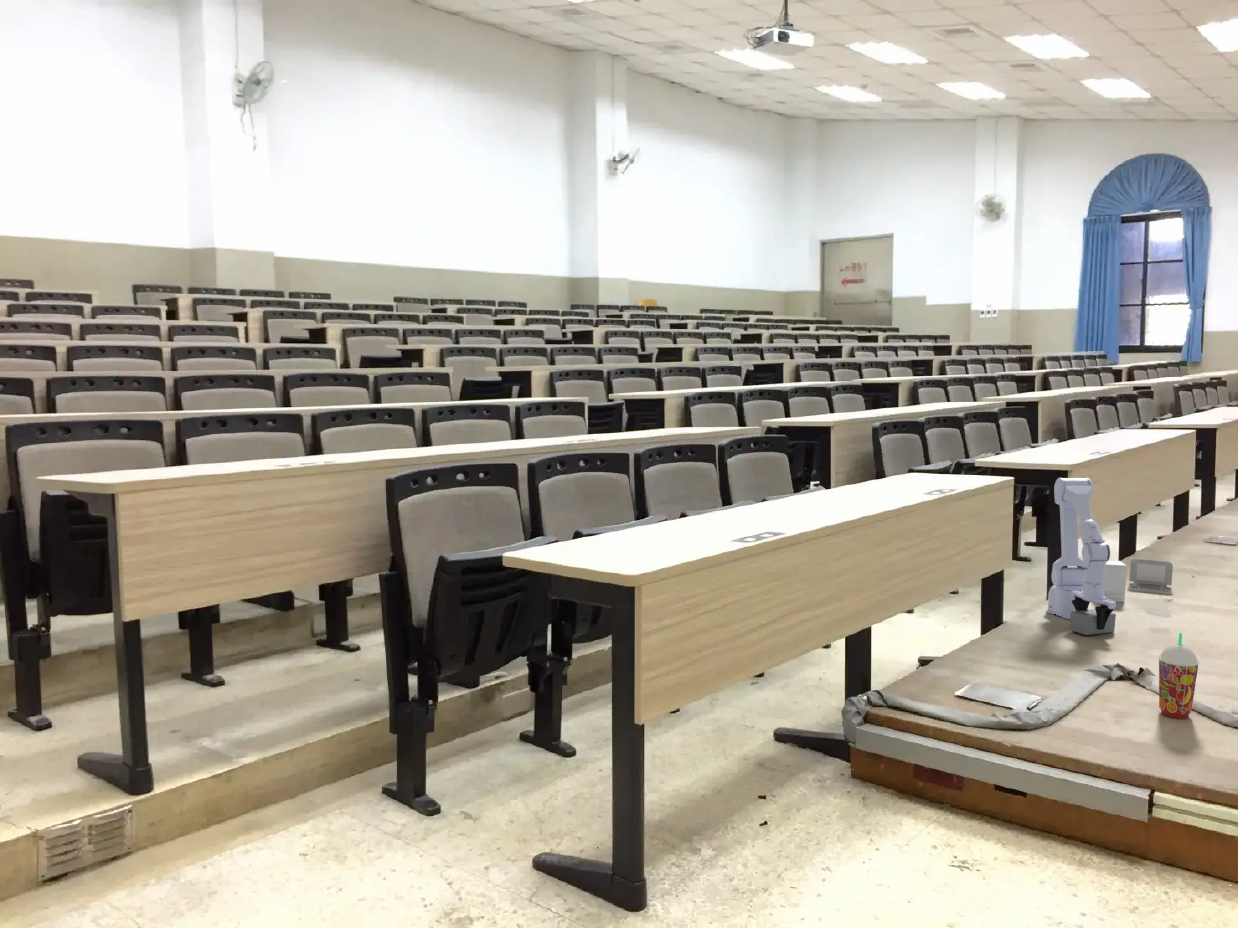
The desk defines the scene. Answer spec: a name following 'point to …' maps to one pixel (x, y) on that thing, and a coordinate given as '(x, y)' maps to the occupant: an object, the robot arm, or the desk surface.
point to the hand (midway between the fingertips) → (1091, 626)
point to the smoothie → (1177, 680)
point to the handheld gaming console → (1151, 576)
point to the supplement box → (1115, 581)
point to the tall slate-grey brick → (1090, 622)
